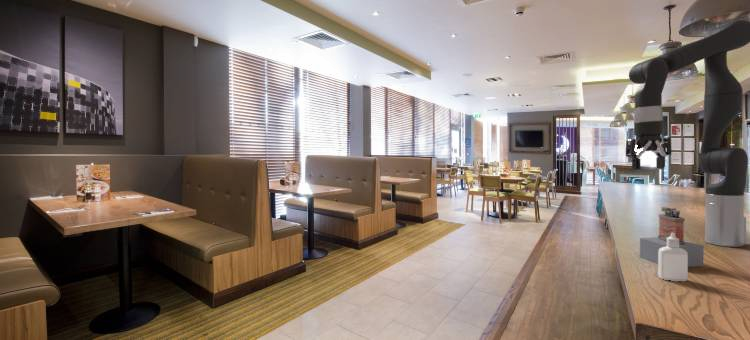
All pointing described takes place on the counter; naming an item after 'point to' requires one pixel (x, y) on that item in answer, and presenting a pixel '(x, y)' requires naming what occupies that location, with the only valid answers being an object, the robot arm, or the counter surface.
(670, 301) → the counter surface
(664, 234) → the lighter
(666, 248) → the eye dropper bottle
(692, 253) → the pedestal block
